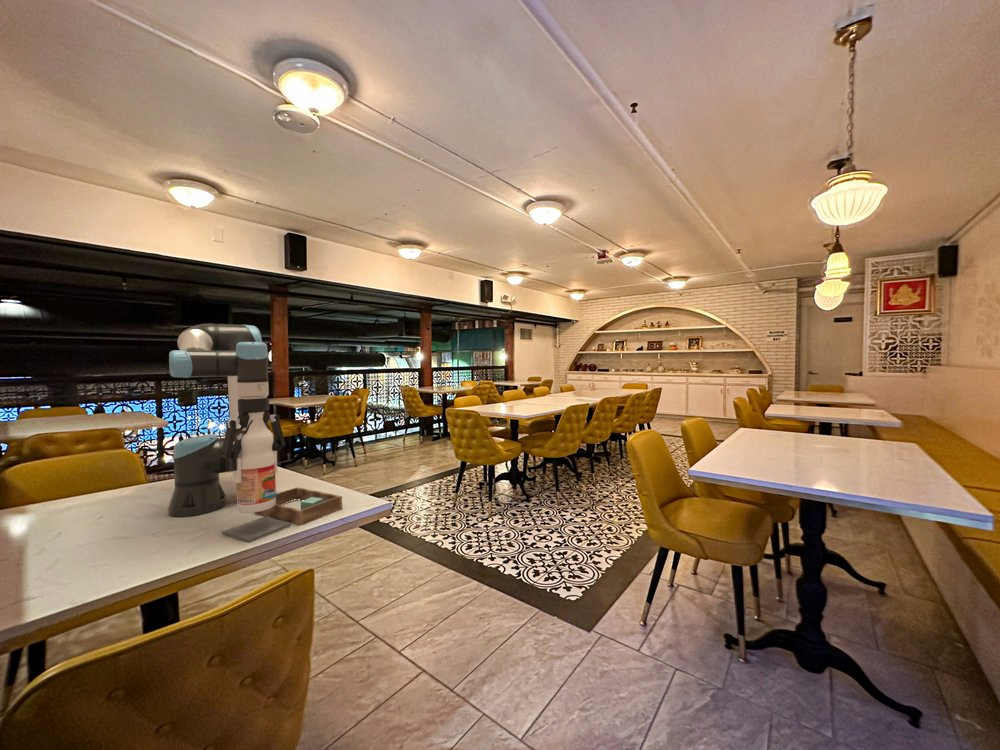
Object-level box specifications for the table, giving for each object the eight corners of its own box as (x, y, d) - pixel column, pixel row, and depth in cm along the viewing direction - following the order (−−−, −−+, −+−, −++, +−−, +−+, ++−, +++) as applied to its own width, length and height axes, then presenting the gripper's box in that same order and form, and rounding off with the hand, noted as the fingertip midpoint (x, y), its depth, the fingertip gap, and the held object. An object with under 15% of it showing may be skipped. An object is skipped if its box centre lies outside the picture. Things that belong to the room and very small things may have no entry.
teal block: (301, 516, 124) (300, 501, 124) (312, 511, 128) (311, 497, 128) (312, 517, 122) (312, 503, 122) (323, 512, 127) (323, 498, 126)
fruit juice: (240, 505, 115) (237, 407, 115) (277, 500, 119) (274, 405, 119) (234, 516, 107) (230, 411, 106) (274, 510, 111) (271, 408, 110)
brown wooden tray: (254, 513, 127) (253, 500, 126) (297, 498, 140) (297, 487, 140) (300, 525, 116) (299, 511, 116) (342, 508, 130) (341, 496, 130)
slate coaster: (222, 534, 111) (222, 531, 111) (265, 519, 122) (265, 516, 122) (248, 542, 105) (248, 539, 105) (290, 526, 116) (290, 523, 116)
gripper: (218, 401, 101) (221, 490, 101) (298, 395, 120) (300, 469, 121) (202, 400, 104) (204, 486, 105) (282, 394, 124) (284, 466, 124)
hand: (255, 477), depth 113 cm, fingers closed on fruit juice, 9 cm apart
